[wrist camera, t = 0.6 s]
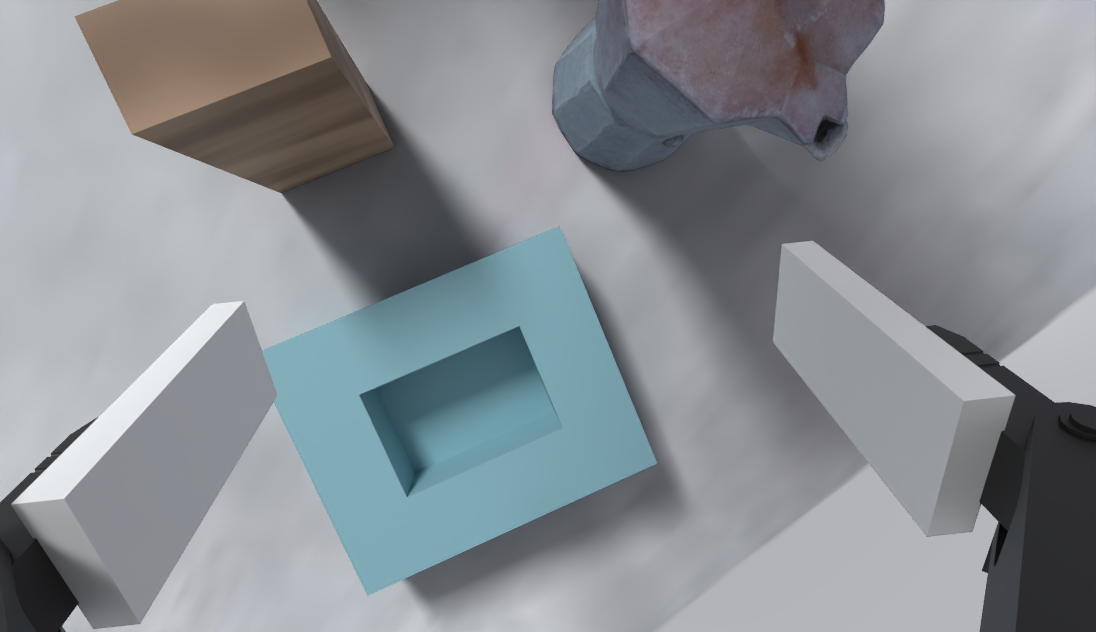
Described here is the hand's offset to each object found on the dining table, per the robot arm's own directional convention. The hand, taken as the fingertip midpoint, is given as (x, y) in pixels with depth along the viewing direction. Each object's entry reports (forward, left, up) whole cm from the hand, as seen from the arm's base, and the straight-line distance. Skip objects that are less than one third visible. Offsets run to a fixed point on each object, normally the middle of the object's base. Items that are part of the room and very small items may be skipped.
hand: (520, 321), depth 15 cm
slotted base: (+5, -4, -22) cm, 23 cm away
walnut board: (-12, -6, -22) cm, 26 cm away
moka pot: (-8, +11, -22) cm, 26 cm away
